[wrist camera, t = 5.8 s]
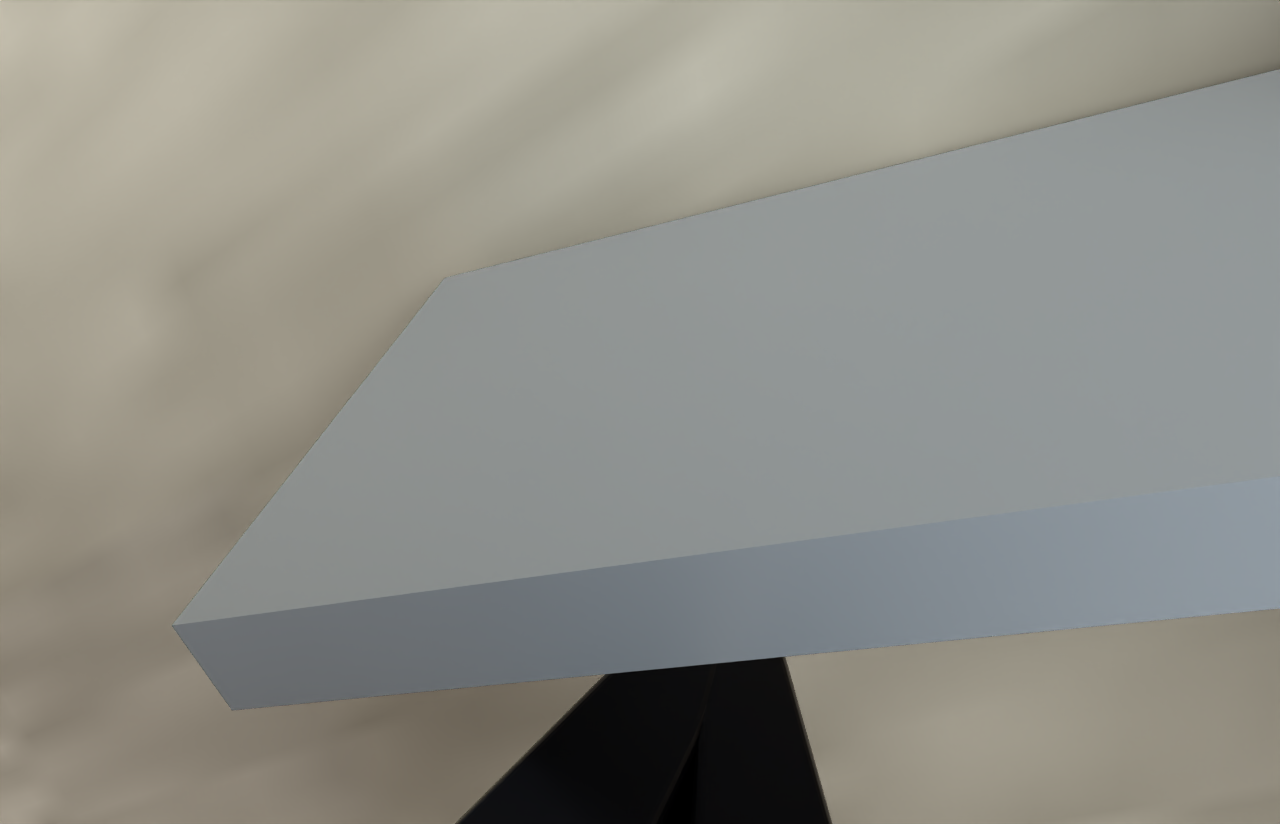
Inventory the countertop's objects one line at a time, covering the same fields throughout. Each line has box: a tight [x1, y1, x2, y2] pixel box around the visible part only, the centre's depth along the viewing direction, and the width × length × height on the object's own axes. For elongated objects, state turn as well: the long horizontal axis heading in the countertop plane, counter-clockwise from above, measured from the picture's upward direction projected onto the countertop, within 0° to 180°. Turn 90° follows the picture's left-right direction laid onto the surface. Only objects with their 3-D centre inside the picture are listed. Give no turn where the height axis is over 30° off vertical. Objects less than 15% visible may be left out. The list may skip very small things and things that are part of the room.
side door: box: [172, 69, 1280, 710], centre depth 9 cm, size 1×9×5 cm, turn 111°
